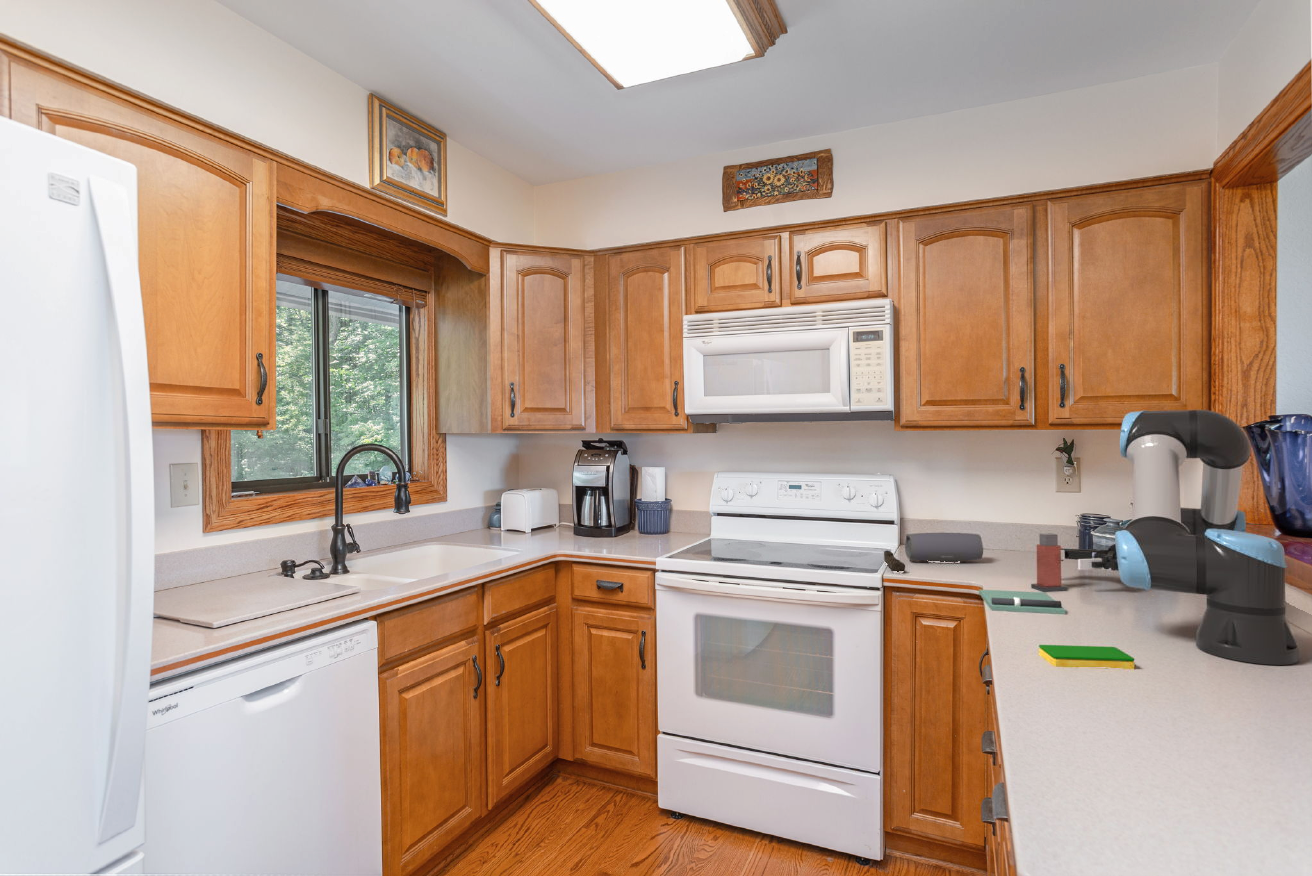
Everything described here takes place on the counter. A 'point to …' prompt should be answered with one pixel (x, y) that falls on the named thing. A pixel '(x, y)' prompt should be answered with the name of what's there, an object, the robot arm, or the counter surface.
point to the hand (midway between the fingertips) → (1060, 560)
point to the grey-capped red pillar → (1048, 564)
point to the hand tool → (893, 562)
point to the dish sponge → (1086, 656)
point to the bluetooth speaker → (943, 546)
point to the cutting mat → (1019, 595)
